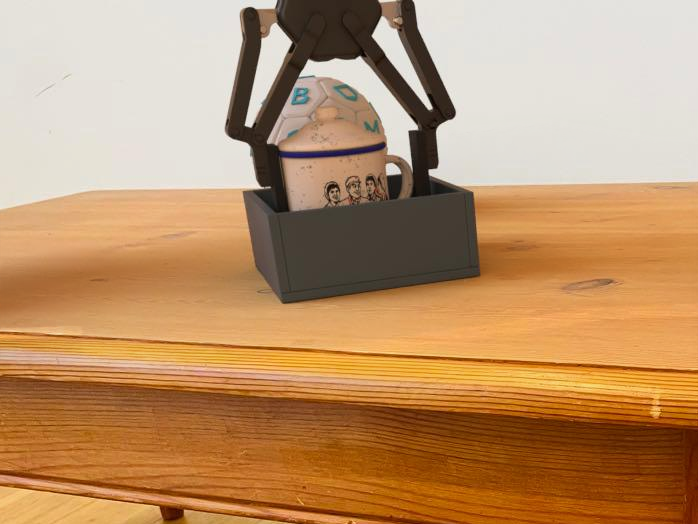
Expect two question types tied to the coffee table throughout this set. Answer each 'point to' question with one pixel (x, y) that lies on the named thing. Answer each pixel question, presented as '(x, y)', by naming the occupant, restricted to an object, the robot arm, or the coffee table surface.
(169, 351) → the coffee table surface
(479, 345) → the coffee table surface
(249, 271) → the coffee table surface
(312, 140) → the teacup with lid
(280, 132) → the puzzle ball
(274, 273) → the bin
